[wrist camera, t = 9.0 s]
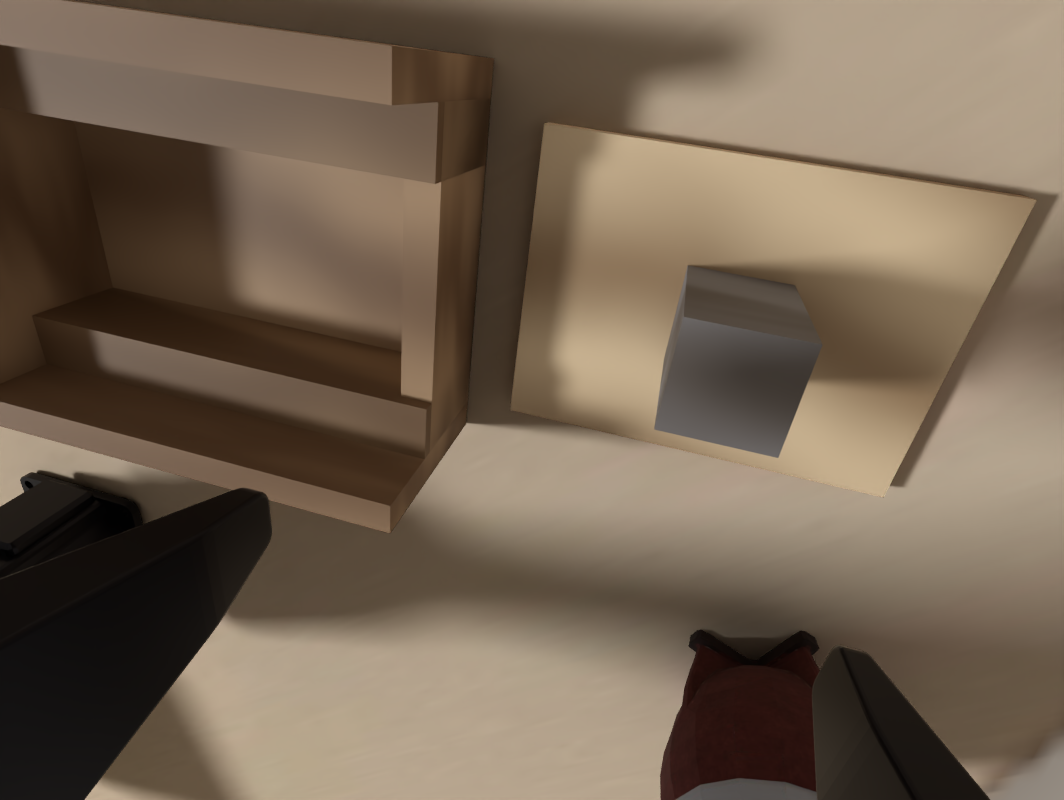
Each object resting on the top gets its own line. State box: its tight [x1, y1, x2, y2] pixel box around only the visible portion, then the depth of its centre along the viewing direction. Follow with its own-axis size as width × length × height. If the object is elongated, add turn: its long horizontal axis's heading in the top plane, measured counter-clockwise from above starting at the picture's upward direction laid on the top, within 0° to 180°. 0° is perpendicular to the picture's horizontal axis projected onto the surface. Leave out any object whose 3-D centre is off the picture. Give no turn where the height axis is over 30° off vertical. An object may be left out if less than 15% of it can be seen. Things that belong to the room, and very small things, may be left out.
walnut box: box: [0, 0, 494, 533], centre depth 18 cm, size 12×15×6 cm
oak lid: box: [510, 122, 1037, 497], centre depth 16 cm, size 9×12×6 cm
